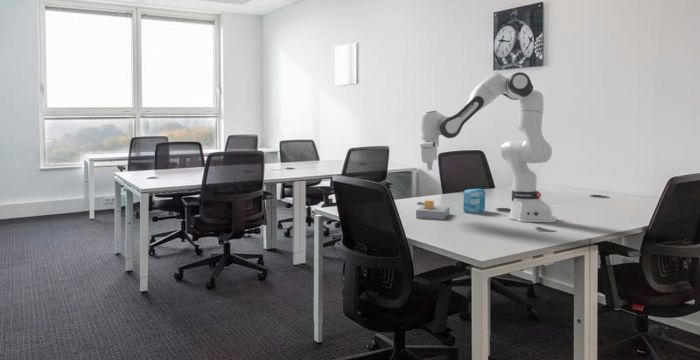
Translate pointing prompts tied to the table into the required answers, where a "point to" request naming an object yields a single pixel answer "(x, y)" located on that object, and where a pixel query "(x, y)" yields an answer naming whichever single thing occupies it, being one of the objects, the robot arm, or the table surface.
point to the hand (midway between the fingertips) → (429, 170)
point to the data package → (474, 200)
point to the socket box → (433, 212)
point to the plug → (429, 204)
